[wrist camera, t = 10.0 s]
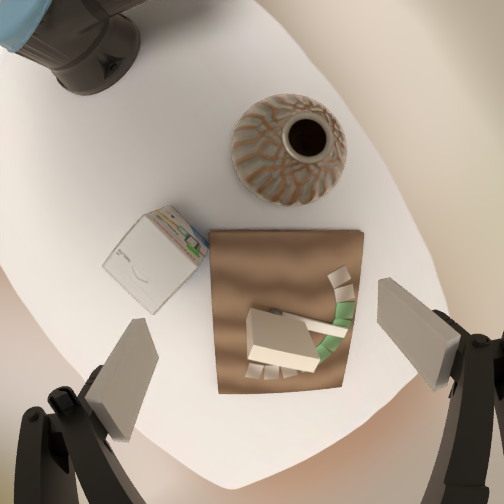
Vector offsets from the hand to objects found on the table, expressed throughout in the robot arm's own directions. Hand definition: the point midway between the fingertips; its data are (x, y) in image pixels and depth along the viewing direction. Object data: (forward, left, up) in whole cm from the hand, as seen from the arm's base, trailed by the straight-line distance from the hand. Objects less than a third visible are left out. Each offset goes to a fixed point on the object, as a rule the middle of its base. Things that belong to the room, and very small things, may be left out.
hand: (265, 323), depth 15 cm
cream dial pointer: (+13, +7, -24) cm, 28 cm away
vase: (-11, +4, -27) cm, 29 cm away
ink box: (+2, -12, -27) cm, 29 cm away
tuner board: (+14, +5, -27) cm, 30 cm away
